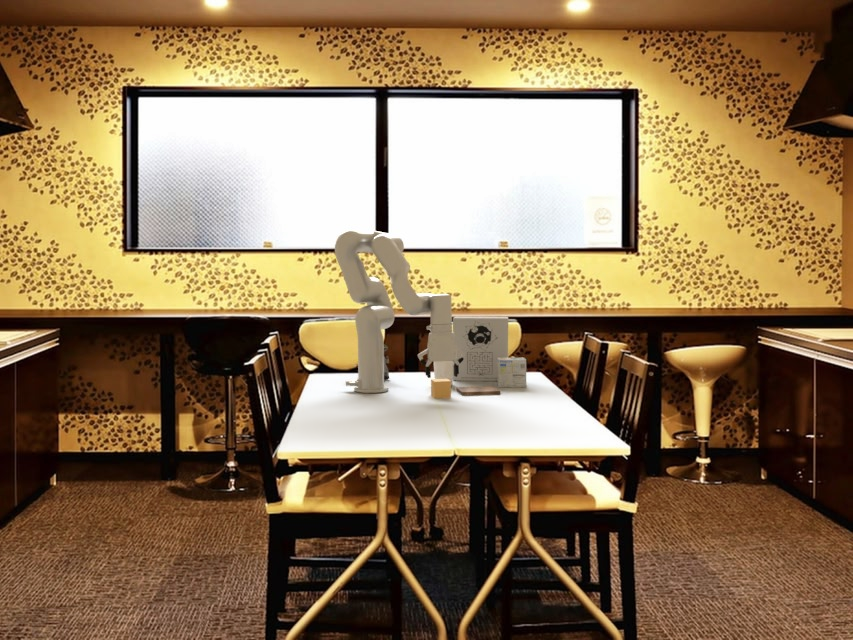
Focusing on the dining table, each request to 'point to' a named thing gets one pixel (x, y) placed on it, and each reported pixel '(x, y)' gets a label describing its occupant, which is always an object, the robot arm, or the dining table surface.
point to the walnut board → (478, 390)
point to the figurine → (386, 373)
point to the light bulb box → (511, 372)
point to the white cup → (444, 370)
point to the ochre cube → (440, 388)
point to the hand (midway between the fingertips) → (442, 376)
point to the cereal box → (480, 346)
